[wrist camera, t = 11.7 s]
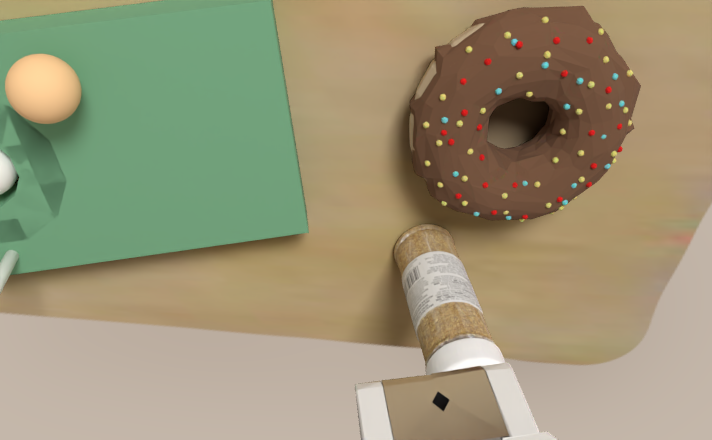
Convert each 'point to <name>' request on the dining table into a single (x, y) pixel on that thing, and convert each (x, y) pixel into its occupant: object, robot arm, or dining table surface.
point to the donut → (534, 83)
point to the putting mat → (151, 136)
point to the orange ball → (43, 88)
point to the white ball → (6, 173)
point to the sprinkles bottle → (443, 302)
